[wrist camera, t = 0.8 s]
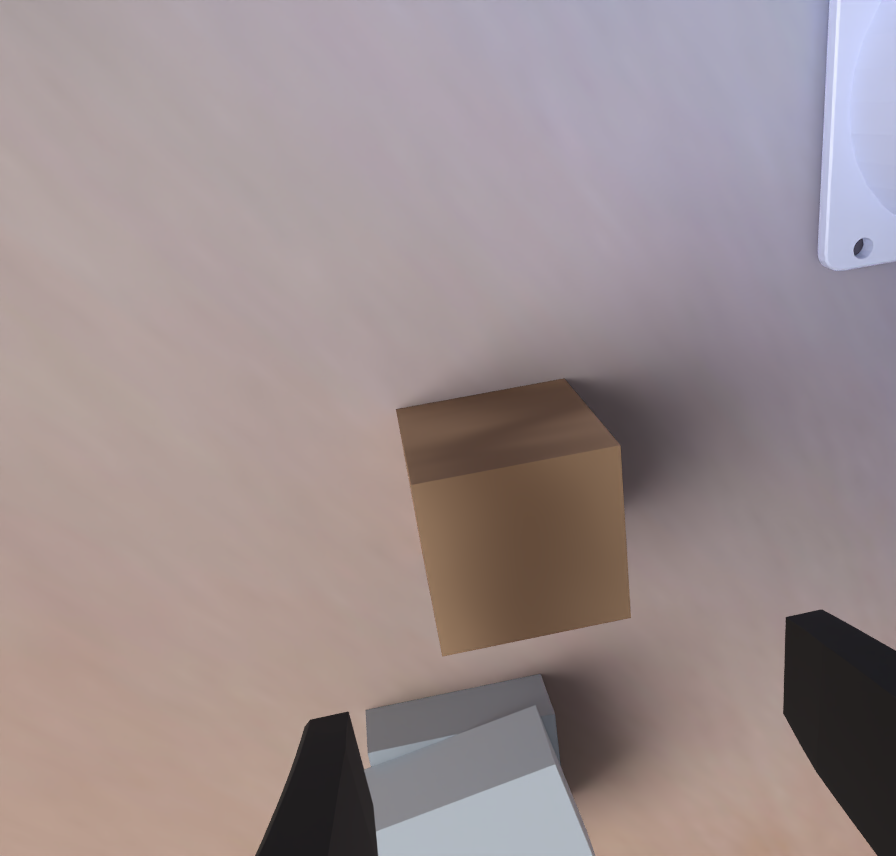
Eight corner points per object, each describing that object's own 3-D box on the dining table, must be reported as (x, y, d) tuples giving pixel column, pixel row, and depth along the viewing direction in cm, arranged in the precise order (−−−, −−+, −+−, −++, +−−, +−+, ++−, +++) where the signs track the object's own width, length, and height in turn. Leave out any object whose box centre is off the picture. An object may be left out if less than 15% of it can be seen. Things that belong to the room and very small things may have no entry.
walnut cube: (563, 377, 21) (620, 445, 16) (576, 523, 22) (630, 617, 18) (395, 408, 20) (411, 485, 16) (422, 553, 22) (442, 656, 18)
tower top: (535, 705, 22) (555, 764, 20) (586, 829, 25) (608, 893, 23) (357, 772, 22) (359, 837, 20) (423, 889, 25) (431, 959, 23)
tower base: (536, 663, 25) (554, 713, 23) (551, 789, 27) (569, 845, 25) (364, 699, 24) (367, 753, 22) (394, 824, 26) (399, 883, 24)
